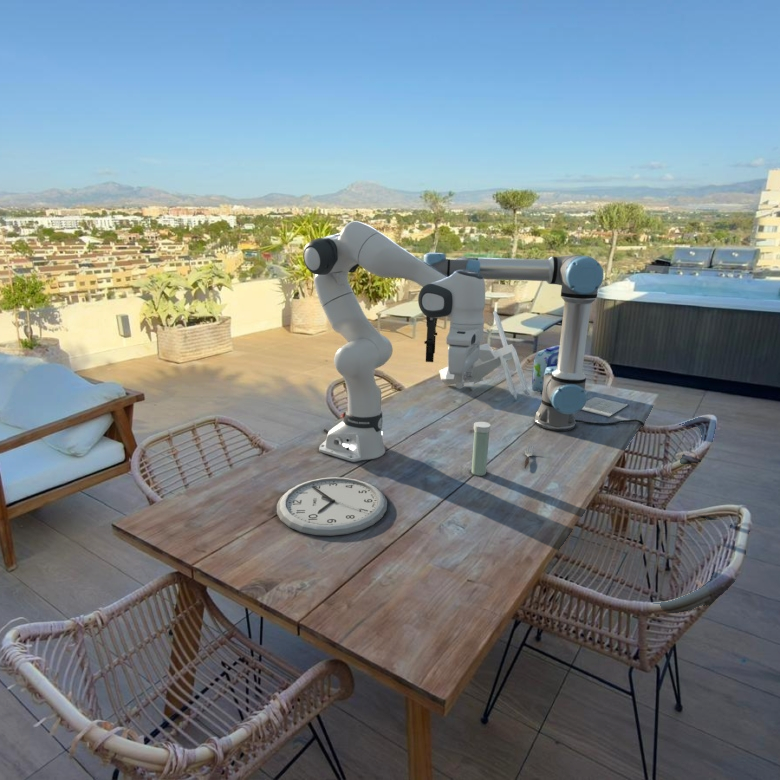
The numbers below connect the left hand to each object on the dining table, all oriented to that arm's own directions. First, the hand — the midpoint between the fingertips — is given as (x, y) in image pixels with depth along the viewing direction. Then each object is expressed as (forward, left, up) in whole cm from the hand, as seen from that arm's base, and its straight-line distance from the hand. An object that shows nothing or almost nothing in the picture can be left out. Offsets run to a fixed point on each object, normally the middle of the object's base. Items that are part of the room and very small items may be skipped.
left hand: (463, 383), depth 143 cm
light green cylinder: (+3, +14, -33) cm, 35 cm away
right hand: (-23, +42, -5) cm, 48 cm away
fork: (+16, +29, -33) cm, 46 cm away
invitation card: (+38, +98, -33) cm, 110 cm away
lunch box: (+16, +114, -33) cm, 120 cm away
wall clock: (-29, -23, -33) cm, 49 cm away
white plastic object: (-15, +96, -33) cm, 103 cm away
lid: (+3, +14, -17) cm, 22 cm away
